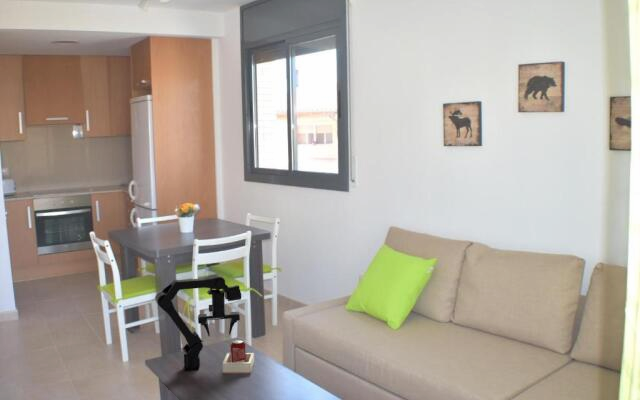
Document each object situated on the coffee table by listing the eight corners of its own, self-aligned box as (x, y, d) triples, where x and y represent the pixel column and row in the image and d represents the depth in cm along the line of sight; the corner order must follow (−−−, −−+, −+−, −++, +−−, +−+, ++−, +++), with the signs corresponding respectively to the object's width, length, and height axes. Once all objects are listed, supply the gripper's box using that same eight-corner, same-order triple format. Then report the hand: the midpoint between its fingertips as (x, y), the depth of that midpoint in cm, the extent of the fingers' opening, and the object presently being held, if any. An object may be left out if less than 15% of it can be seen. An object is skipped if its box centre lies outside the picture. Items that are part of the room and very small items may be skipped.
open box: (222, 373, 259) (222, 363, 258) (227, 362, 271) (227, 353, 271) (250, 373, 259) (250, 363, 258) (254, 362, 271) (254, 352, 270)
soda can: (246, 368, 262) (246, 342, 261) (231, 370, 261) (231, 344, 259) (244, 362, 269) (244, 337, 268) (230, 364, 267) (229, 339, 266)
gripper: (237, 296, 278) (238, 328, 279) (197, 299, 274) (198, 331, 275) (239, 302, 267) (240, 336, 269) (197, 305, 263) (198, 339, 265)
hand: (219, 335), depth 270 cm, fingers open, 9 cm apart
